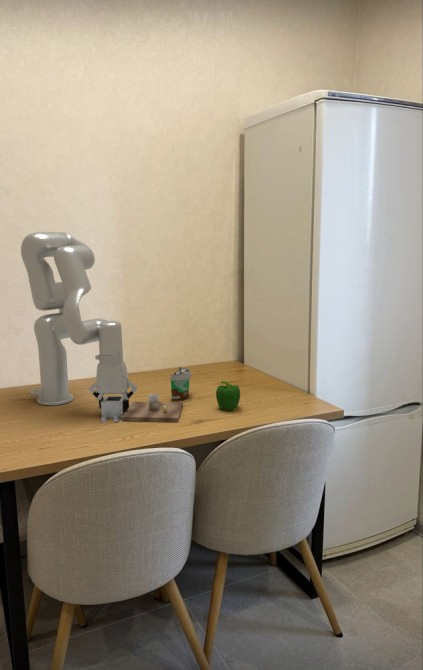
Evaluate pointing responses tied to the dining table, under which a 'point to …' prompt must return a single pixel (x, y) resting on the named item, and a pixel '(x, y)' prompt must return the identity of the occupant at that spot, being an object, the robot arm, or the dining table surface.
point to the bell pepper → (228, 396)
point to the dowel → (164, 409)
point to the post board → (153, 411)
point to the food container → (180, 384)
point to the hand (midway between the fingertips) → (114, 410)
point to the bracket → (112, 408)
